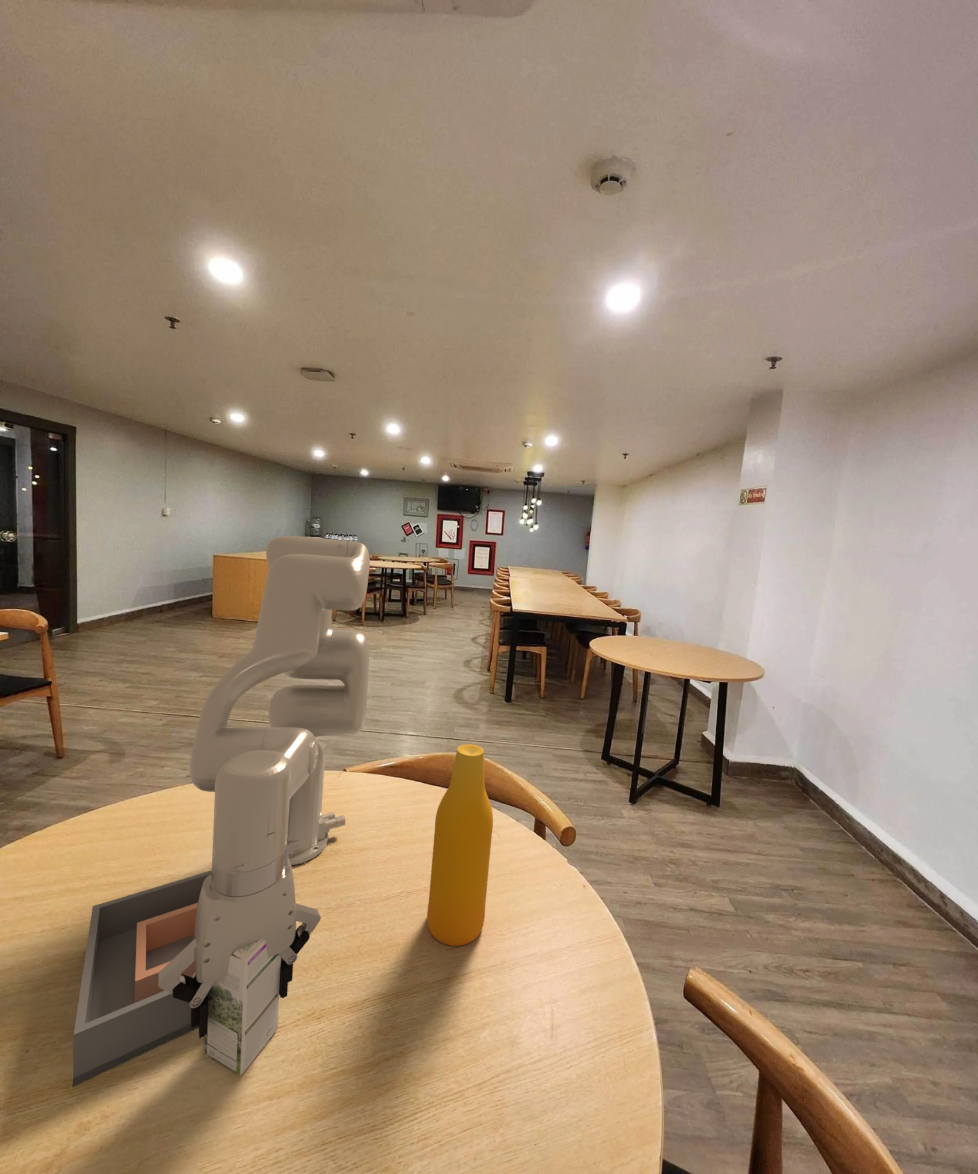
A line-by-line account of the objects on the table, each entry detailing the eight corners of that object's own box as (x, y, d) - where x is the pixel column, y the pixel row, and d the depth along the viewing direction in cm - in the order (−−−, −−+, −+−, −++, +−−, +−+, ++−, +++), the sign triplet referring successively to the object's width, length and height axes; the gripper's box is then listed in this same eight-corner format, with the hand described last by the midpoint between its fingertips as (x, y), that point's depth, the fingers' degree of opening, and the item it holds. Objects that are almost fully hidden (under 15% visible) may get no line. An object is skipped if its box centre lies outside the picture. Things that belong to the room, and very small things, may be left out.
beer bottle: (493, 917, 75) (509, 748, 73) (464, 959, 67) (482, 770, 65) (447, 893, 79) (460, 733, 77) (414, 930, 71) (429, 751, 69)
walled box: (250, 892, 76) (252, 858, 75) (277, 990, 60) (279, 948, 59) (91, 946, 64) (92, 906, 63) (72, 1087, 48) (73, 1035, 47)
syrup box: (280, 1028, 55) (286, 917, 54) (238, 1080, 50) (244, 958, 48) (244, 1009, 57) (249, 901, 56) (200, 1057, 51) (205, 939, 50)
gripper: (319, 824, 59) (311, 948, 61) (154, 871, 49) (150, 1019, 51) (337, 858, 54) (328, 994, 55) (155, 920, 43) (150, 1086, 45)
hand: (243, 1005), depth 53 cm, fingers closed on syrup box, 7 cm apart
